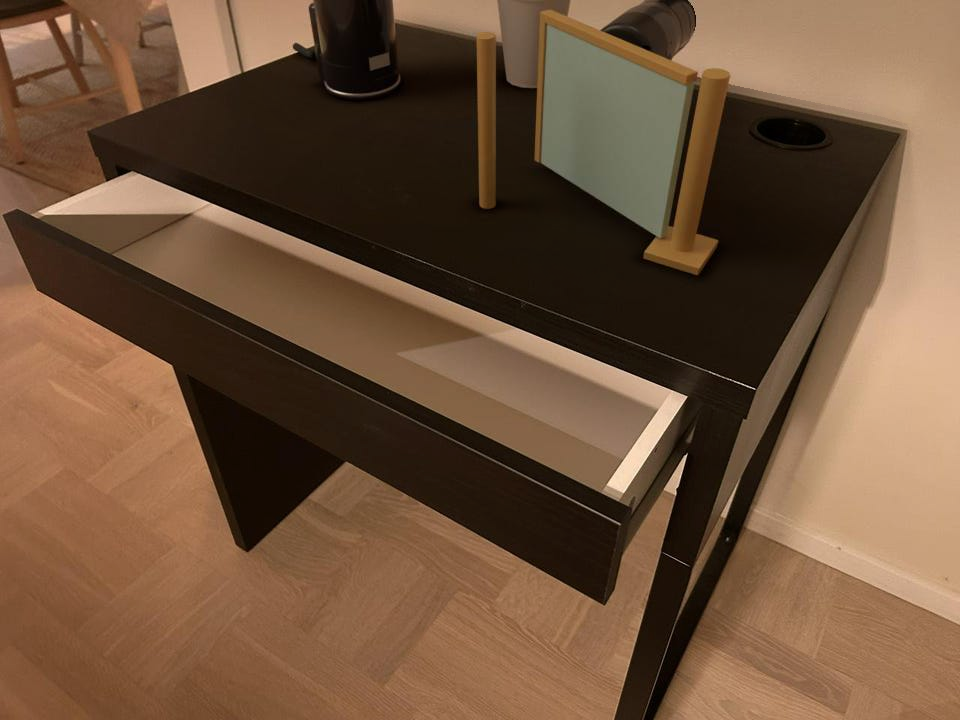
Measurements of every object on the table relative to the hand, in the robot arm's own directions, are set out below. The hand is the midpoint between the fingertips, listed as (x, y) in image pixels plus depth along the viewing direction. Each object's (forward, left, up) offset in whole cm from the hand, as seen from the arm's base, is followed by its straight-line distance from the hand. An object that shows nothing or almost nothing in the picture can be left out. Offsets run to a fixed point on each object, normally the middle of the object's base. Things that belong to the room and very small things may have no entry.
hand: (565, 105), depth 71 cm
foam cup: (-17, +19, -8) cm, 27 cm away
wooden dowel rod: (-3, -9, -7) cm, 12 cm away
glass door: (+6, -3, -6) cm, 9 cm away
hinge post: (+16, -6, -7) cm, 18 cm away
